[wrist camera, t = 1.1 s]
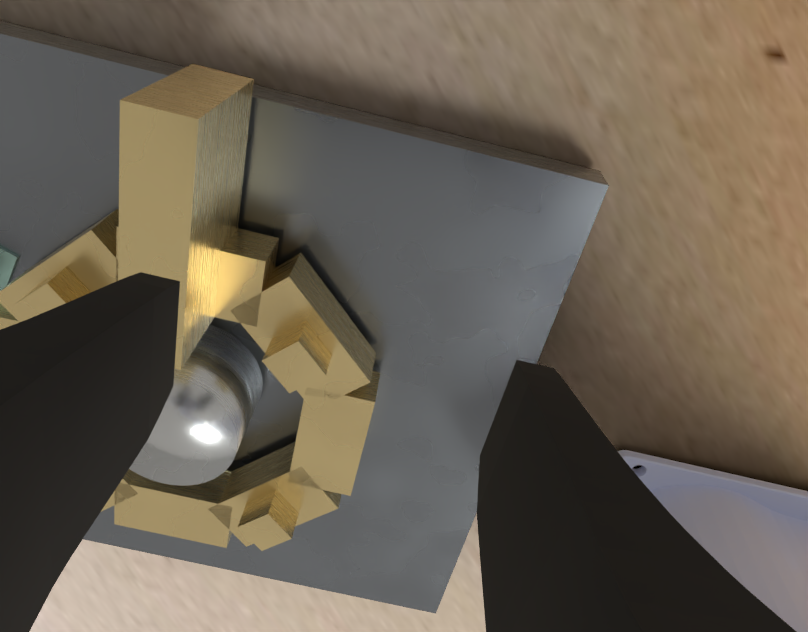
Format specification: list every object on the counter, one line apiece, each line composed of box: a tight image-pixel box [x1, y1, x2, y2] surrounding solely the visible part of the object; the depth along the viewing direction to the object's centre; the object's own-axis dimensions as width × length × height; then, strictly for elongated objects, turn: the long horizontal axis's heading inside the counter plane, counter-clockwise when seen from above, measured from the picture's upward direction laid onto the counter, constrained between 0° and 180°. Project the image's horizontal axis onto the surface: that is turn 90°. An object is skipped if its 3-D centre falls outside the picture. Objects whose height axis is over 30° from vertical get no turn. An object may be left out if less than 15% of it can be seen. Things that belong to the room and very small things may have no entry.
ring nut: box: [0, 64, 380, 551], centre depth 18 cm, size 15×11×4 cm
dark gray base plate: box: [0, 21, 609, 613], centre depth 20 cm, size 20×18×4 cm
